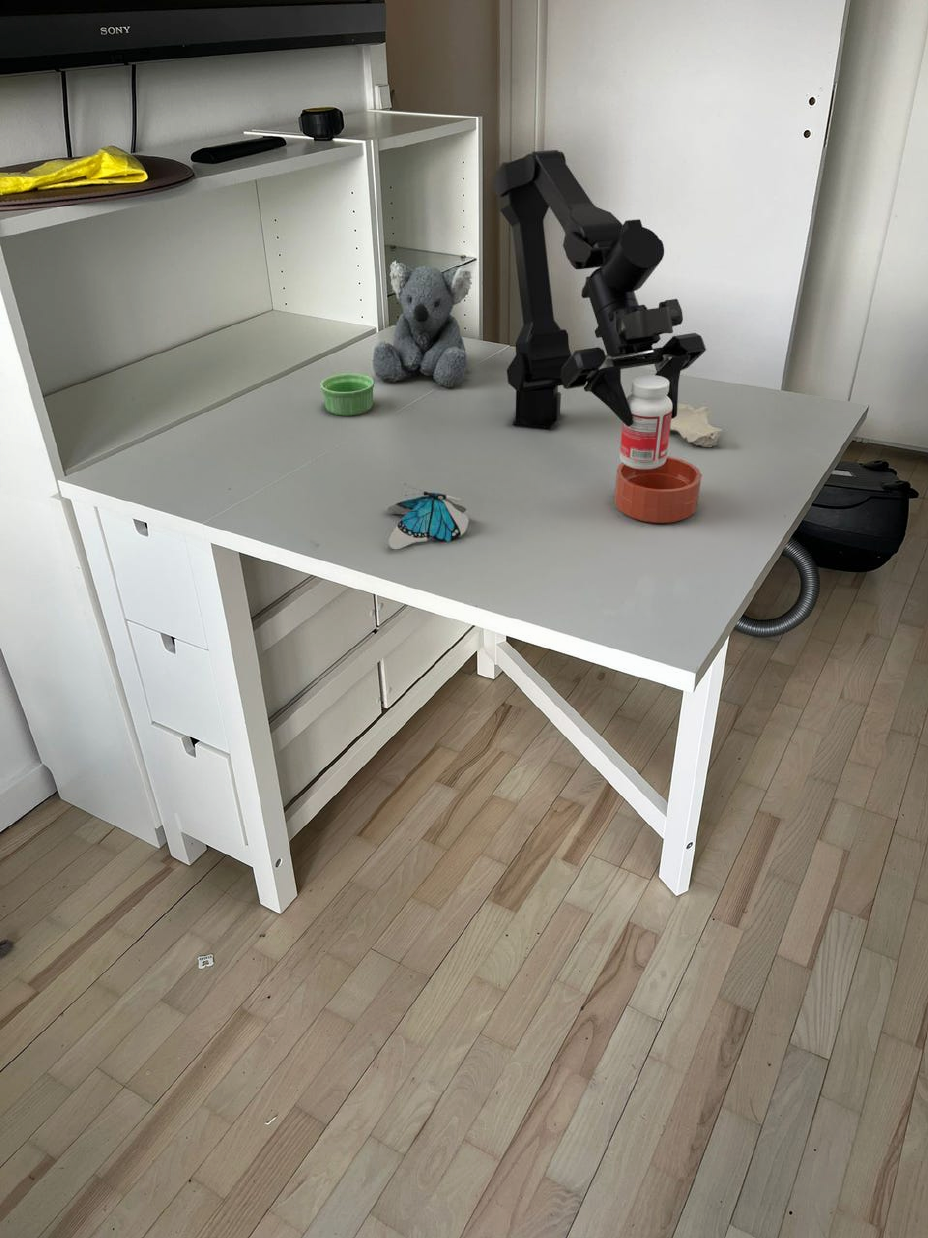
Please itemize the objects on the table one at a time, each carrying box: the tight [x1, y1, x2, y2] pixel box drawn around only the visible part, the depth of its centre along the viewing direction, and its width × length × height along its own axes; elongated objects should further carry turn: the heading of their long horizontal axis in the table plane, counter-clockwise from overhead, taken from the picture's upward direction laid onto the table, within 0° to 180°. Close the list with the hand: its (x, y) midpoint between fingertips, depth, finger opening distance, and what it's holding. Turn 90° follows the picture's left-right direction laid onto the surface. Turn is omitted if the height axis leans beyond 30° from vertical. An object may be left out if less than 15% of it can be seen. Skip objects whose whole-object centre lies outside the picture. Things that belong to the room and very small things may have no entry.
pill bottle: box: [619, 374, 672, 469], centre depth 125 cm, size 6×6×11 cm
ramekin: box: [320, 373, 375, 417], centre depth 162 cm, size 9×9×4 cm
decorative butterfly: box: [387, 483, 469, 550], centre depth 126 cm, size 10×6×10 cm
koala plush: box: [372, 260, 473, 388], centre depth 173 cm, size 17×18×20 cm
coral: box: [670, 402, 723, 448], centre depth 150 cm, size 6×10×4 cm, turn 45°
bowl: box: [613, 456, 702, 524], centre depth 131 cm, size 11×11×5 cm
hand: (652, 421), depth 123 cm, fingers closed on pill bottle, 6 cm apart
